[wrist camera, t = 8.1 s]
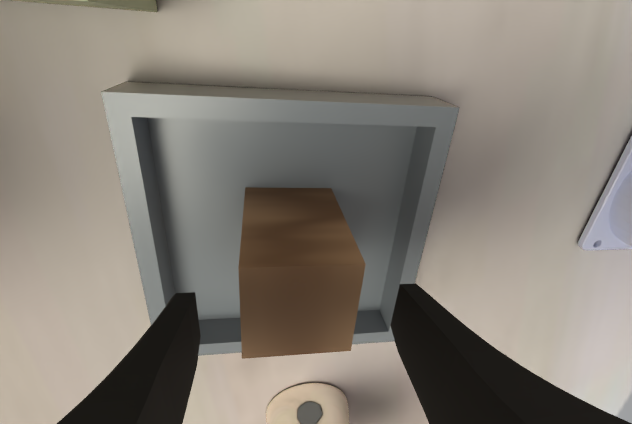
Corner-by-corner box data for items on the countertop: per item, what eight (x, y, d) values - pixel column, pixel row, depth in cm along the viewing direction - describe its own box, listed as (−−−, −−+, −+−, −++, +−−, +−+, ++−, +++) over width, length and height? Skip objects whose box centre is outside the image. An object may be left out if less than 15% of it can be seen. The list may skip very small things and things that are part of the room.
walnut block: (331, 187, 16) (365, 264, 11) (324, 257, 18) (350, 350, 13) (245, 187, 16) (238, 267, 10) (247, 259, 17) (242, 358, 12)
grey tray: (431, 96, 16) (459, 107, 13) (385, 309, 22) (399, 340, 20) (126, 81, 14) (101, 91, 11) (169, 321, 20) (158, 358, 17)
